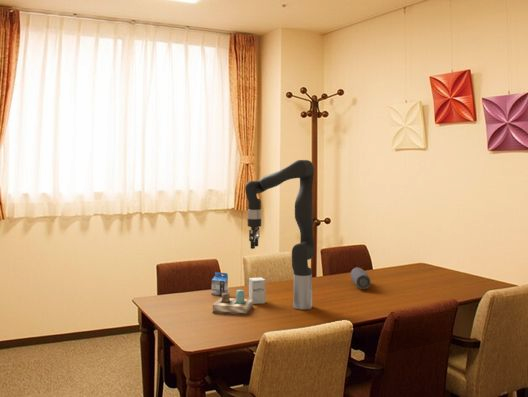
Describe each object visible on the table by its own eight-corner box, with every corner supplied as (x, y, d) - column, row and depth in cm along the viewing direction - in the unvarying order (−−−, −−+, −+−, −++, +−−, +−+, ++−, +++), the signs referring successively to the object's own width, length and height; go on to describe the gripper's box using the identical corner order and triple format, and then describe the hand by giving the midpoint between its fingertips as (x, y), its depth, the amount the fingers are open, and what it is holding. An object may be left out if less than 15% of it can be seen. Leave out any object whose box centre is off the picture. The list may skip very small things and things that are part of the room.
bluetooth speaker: (371, 291, 295) (371, 274, 295) (355, 291, 296) (355, 274, 295) (364, 282, 318) (364, 266, 318) (349, 282, 318) (349, 266, 318)
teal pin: (245, 307, 258) (245, 289, 257) (243, 309, 254) (243, 291, 253) (237, 307, 259) (237, 289, 258) (235, 309, 255) (235, 291, 254)
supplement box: (251, 304, 267) (251, 280, 267) (248, 300, 274) (248, 277, 274) (265, 303, 269) (265, 279, 268) (261, 299, 276) (261, 276, 276)
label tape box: (211, 294, 288) (211, 273, 287) (215, 293, 291) (215, 271, 291) (224, 296, 284) (224, 274, 283) (228, 294, 287) (228, 273, 287)
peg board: (252, 307, 262) (252, 291, 262) (246, 315, 248) (246, 298, 248) (220, 305, 266) (220, 290, 265) (212, 312, 252) (212, 296, 251)
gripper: (258, 219, 269) (258, 249, 270) (263, 216, 283) (263, 245, 284) (244, 218, 270) (244, 249, 271) (250, 216, 284) (250, 245, 285)
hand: (254, 247), depth 278 cm, fingers open, 8 cm apart
